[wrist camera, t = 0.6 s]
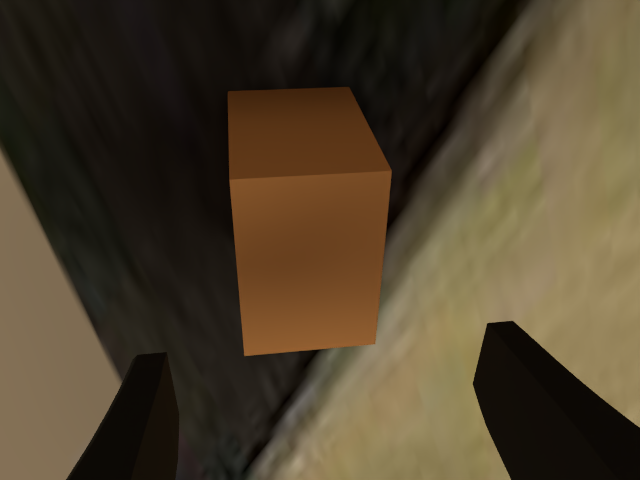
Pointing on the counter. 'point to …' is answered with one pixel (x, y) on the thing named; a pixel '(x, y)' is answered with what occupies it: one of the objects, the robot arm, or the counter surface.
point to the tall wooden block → (306, 218)
